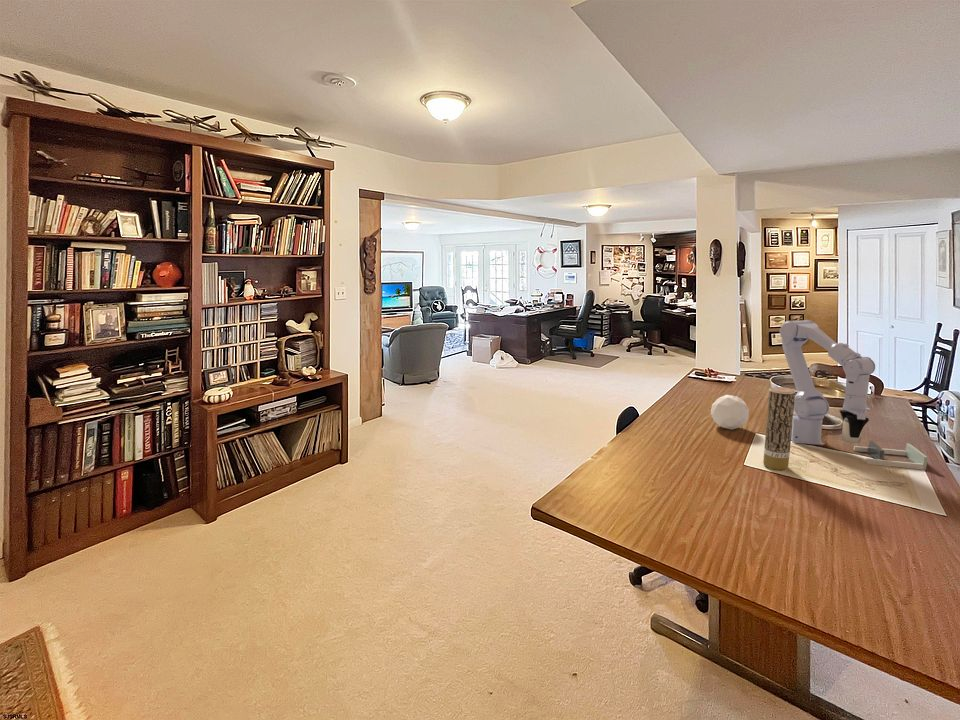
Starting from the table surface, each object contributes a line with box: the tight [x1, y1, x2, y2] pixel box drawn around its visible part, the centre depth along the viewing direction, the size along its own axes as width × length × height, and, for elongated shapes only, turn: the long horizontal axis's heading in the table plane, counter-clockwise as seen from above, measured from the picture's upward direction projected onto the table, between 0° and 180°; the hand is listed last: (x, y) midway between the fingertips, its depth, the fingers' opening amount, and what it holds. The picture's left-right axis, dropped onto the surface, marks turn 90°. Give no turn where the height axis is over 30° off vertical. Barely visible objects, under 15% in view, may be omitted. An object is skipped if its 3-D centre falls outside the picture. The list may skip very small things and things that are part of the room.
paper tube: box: [762, 386, 796, 471], centre depth 151 cm, size 7×7×25 cm
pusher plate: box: [867, 440, 885, 460], centre depth 158 cm, size 1×10×4 cm, turn 158°
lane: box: [853, 443, 929, 470], centre depth 156 cm, size 15×13×4 cm
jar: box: [840, 417, 863, 444], centre depth 159 cm, size 5×5×7 cm
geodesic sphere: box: [710, 393, 750, 431], centre depth 191 cm, size 14×14×14 cm
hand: (851, 434), depth 159 cm, fingers closed on jar, 5 cm apart
